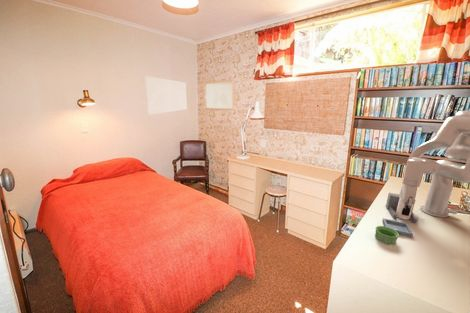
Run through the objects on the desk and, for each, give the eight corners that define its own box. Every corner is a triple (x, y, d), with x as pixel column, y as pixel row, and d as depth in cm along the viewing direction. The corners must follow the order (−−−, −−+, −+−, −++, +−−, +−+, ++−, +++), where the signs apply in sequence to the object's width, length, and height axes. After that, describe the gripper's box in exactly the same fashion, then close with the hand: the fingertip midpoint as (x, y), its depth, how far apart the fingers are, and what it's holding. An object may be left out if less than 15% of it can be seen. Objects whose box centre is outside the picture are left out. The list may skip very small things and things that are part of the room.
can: (412, 221, 121) (417, 200, 118) (398, 219, 123) (403, 199, 120) (405, 215, 127) (410, 195, 124) (393, 213, 129) (397, 194, 126)
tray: (406, 226, 115) (407, 223, 115) (412, 237, 106) (413, 234, 105) (382, 221, 119) (383, 218, 119) (386, 231, 110) (387, 228, 109)
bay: (409, 210, 133) (413, 196, 131) (418, 223, 119) (422, 208, 116) (385, 206, 138) (388, 192, 135) (391, 218, 123) (394, 203, 121)
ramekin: (369, 236, 106) (371, 227, 105) (382, 232, 110) (383, 224, 108) (388, 247, 98) (390, 238, 97) (401, 243, 102) (403, 234, 101)
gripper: (399, 176, 129) (392, 204, 133) (407, 186, 114) (398, 217, 118) (415, 178, 126) (407, 207, 130) (425, 188, 111) (416, 221, 115)
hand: (403, 212), depth 124 cm, fingers closed on can, 6 cm apart
